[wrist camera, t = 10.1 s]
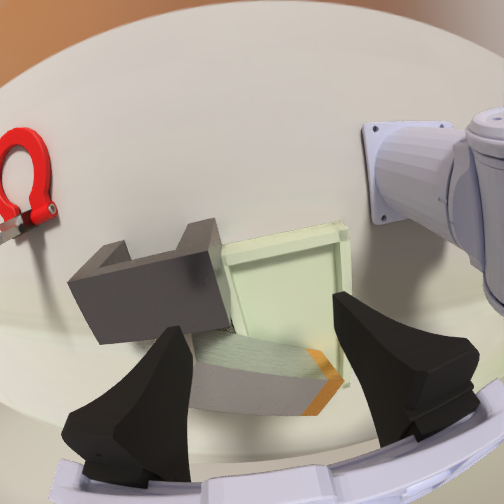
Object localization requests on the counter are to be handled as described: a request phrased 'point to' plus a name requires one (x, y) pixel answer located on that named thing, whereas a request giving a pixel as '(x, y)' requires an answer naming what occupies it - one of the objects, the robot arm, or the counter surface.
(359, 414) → the counter surface
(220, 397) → the pin
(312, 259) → the tray
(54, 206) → the tow hook
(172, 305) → the bracket
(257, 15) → the counter surface
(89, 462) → the robot arm
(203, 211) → the counter surface
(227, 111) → the counter surface
